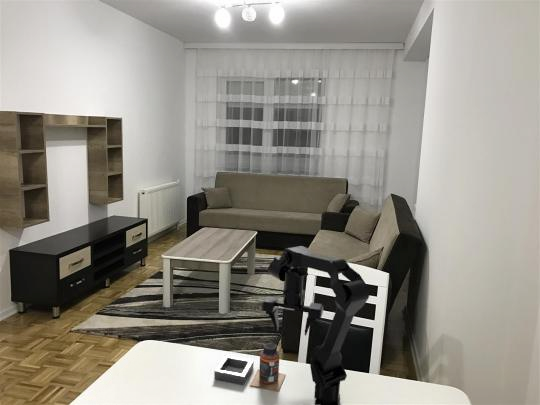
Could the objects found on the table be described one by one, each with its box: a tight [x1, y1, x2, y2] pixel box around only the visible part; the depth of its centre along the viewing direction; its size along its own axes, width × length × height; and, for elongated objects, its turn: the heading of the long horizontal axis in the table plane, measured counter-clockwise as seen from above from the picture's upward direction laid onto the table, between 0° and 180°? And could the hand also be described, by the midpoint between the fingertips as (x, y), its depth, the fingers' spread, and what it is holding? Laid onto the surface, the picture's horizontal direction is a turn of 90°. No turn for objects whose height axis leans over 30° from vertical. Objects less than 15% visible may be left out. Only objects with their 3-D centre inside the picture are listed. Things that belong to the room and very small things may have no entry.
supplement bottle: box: [259, 342, 280, 384], centre depth 139 cm, size 6×6×11 cm
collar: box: [213, 354, 254, 386], centre depth 143 cm, size 10×10×3 cm
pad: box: [249, 368, 286, 392], centre depth 140 cm, size 9×9×1 cm
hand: (291, 332), depth 144 cm, fingers open, 9 cm apart
